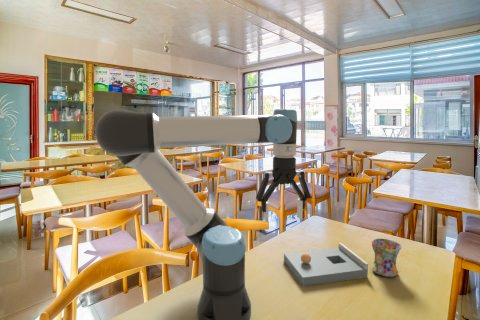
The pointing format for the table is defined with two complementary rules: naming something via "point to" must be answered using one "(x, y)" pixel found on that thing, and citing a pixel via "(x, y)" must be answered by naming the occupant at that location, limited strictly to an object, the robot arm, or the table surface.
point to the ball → (305, 258)
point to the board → (327, 266)
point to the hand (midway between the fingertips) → (283, 219)
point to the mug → (385, 257)
